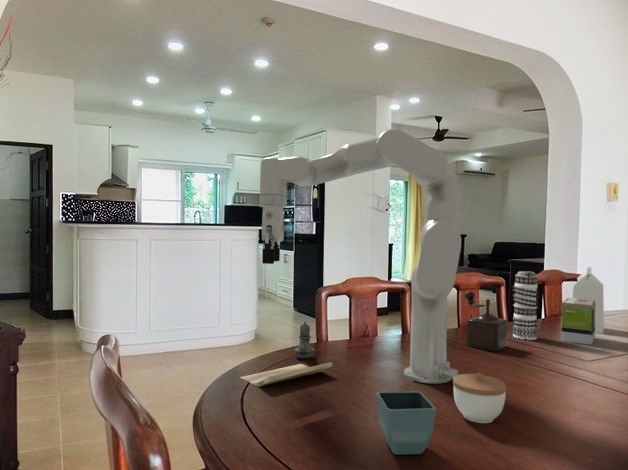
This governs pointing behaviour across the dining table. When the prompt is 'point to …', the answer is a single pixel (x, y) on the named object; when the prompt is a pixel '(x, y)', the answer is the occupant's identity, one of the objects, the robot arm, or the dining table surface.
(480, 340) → the dark brown coffee grinder
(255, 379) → the floor strip
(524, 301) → the decorative candle
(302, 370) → the plank
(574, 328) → the tea box
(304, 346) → the salt shaker
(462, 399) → the lidded jar
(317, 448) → the dining table surface
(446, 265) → the robot arm
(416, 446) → the flower pot
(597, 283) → the milk
